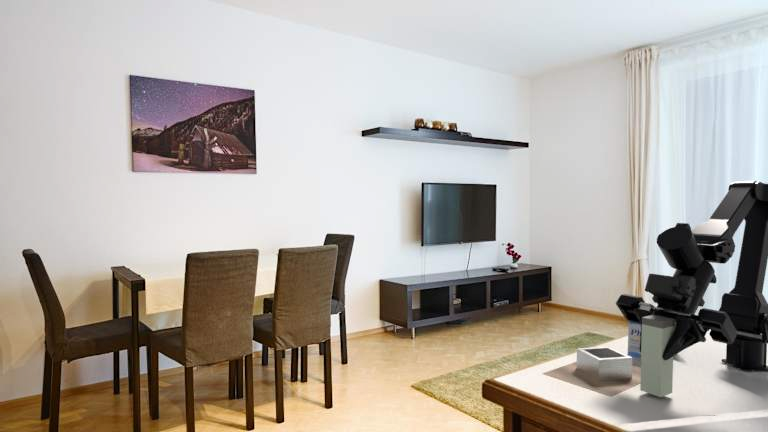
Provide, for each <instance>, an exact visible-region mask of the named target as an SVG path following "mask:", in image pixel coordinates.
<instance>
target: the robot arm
mask: <svg viewBox="0 0 768 432" xmlns="http://www.w3.org/2000/svg"><path fill="white" fill-rule="evenodd" d="M744 221H745V223H744V228H743V229H744V231H743V236H742V241H741V242H742V243H741V248H740V255H739V260H738V265H737V271H736V277H735V283H734V288H732V290H730V291H729V292H724V293H723V295H722V296H721V304H720V307H719V309H718V310H716V309H710V308H705V307H704V305H705V303H706V301H705V300H704V296H705V295H706V291H707V290H708V287H709V285H710V284H717V276H716V275H715V274H716V271H715V269H714V267H713V265H712V264H711V263H713V264H726V263H727V262H729V260H730V259H731V258H732V257H733V256H734V253H735V250H736V245H735V244H736V243H735V241H734V238H733V237H734V236H735V234H736V232H737V231H738V229H739V227H740V226H741V224H742V223H743V222H744ZM656 244H657V246H658V248H659V250H660V251H661V253H662V255H663V257H664V258H665V260H666V262H667V264H668V265H669V266H670V267H671V268H672V269H675V271H674V274H673V275H672V276H671V275H666V274H665V275H663V274H658V273H657V274H656V273H649V274H648V277H647V281H646V284H645V287H644V291H645V293H650V294H651V295H653V296H652V298H651V299H652V301H653V303H654V304H655V303H656V304H657V306H654V305H653V304H651V303H649V302H646V301H645V300H644V298H643V296H638V295H632V294H627V293H624V294H620V296H618V299H617V300H616V302H615V305H616V306H617V308H618V310H619V311H620V313H621V314H622V315H623V317H624V319H626V321H628V322H629V321H630V322H633V323H638V324H641V336H640V352H641V339H642V317H645V316H650V315H658V316H662V317H667V318H672V319H674V322H675V323H676V328H675V331H674V333H673V334H672V336H671V338H670V340H669V342H668V344H667V346H666V348H665V350H664V352H663V355H662V358H663V359H664V360H668V359H670V358H671V357H673V358H674V356H676V355H678V354H679V353H681V352H682V351H684V350H686V349H688V348H689V347H691V346H694V345H696V344H697V343H705V342H706V340H707V339H706V335H707V332H709V333H708V334H709V336H710V338H711V339H712V341H713V342H717V343H722V344H726V349H725V351H726V353H725V355H726V357H725V358H723V359H721V363H724V364H726V365H728V366H731V367H733V368H736V369H738V370H741V371H744V372H765V371H766V372H767V371H768V365H767V352H768V349H767V348H768V301H767V300H766V298H765V296H764V295H763V292H764V291H763V290H764V284H765V279H766V271H767V267H768V183H763V182H761V181H757V180H736V181H734V182H731V183H729V186H728V192H727V193H726V194H725V196H724V197H723V199H722V200H721V201H720V203H719V204H718V206H717V207H716V208H715V210H714V212H713V213H712V214H711V216H710V217H709V219H708V220H707V221H705V222H702V223H701V224H700V223H699V224H697V225H696V226H694V227H693V228H692V227H691V225H690V223H685V222H676V224H675V225H674V226H673V227H669V228H668V229H665V230H664V231H662V232H661V233H660V234H658V236H657V238H656ZM699 307H702V308H701V309H699V311H698V313H697V310H698V308H699ZM696 313H697V314H696Z"/></svg>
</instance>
